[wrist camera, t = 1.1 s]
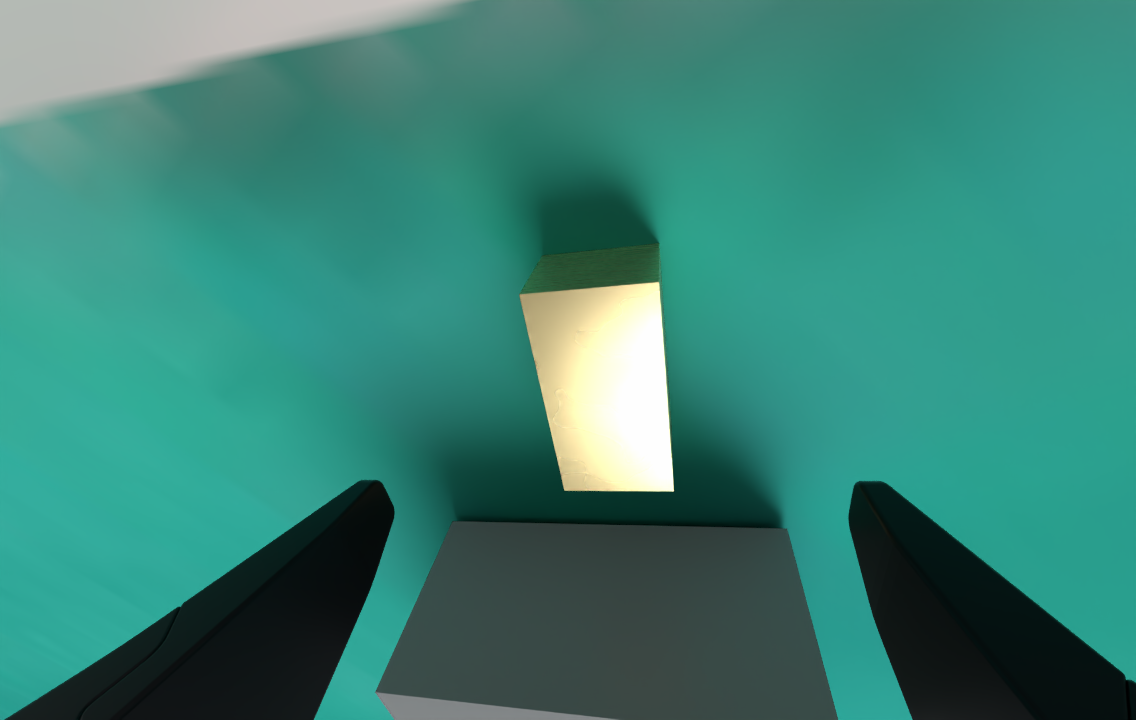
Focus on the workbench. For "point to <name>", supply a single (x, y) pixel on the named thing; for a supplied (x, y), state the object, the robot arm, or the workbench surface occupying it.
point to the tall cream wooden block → (603, 366)
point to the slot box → (609, 627)
